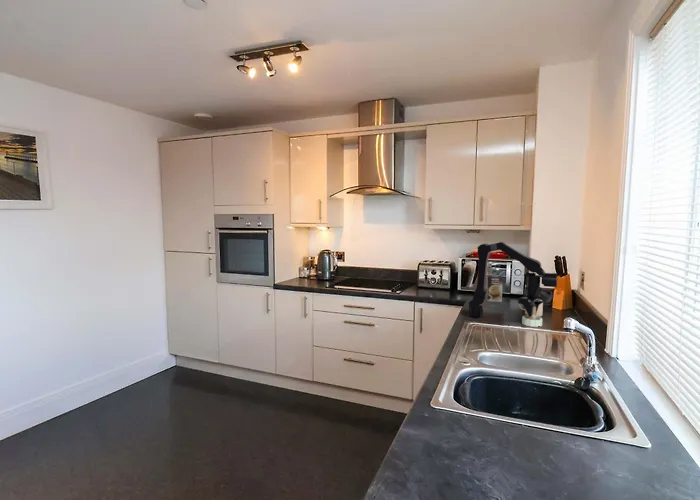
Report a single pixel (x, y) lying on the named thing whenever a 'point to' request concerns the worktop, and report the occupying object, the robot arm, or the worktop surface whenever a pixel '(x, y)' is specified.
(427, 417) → the worktop surface
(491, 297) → the coffee box
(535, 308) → the wooden square beam
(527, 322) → the light green piece
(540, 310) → the teacup with lid
